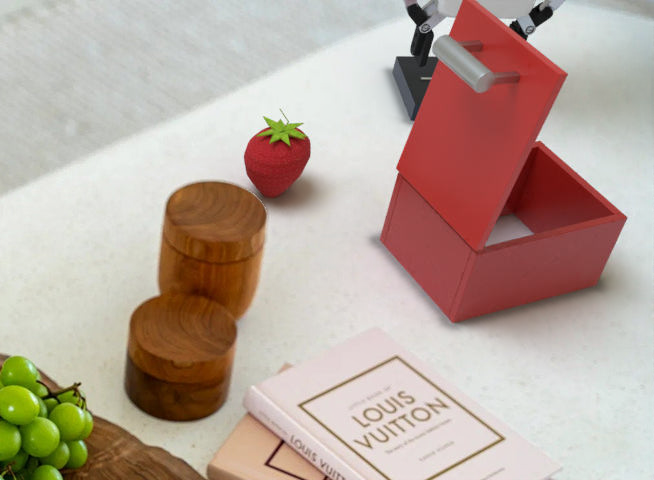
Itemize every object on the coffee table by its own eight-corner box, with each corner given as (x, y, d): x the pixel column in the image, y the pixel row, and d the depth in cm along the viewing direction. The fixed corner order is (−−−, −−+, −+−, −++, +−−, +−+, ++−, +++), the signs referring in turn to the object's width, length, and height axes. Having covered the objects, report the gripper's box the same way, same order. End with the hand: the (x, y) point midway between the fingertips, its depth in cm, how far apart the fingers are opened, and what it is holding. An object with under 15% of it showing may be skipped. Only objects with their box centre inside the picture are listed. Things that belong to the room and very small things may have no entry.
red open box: (512, 214, 116) (540, 140, 109) (593, 292, 107) (628, 217, 101) (377, 247, 112) (397, 172, 105) (450, 330, 104) (477, 254, 97)
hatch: (471, -4, 94) (419, -2, 92) (568, 74, 86) (514, 77, 84) (402, 167, 105) (355, 172, 104) (482, 250, 97) (433, 256, 95)
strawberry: (223, 201, 117) (235, 116, 109) (269, 171, 120) (284, 86, 113) (269, 227, 114) (285, 141, 107) (315, 195, 117) (333, 110, 110)
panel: (493, 80, 133) (501, 55, 131) (517, 128, 126) (526, 103, 124) (390, 79, 133) (396, 54, 131) (408, 128, 126) (415, 102, 124)
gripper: (586, -110, 116) (531, 45, 128) (415, -113, 116) (377, 42, 128) (611, -77, 111) (551, 81, 123) (432, -80, 111) (390, 78, 123)
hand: (462, 61), depth 126 cm, fingers open, 9 cm apart
